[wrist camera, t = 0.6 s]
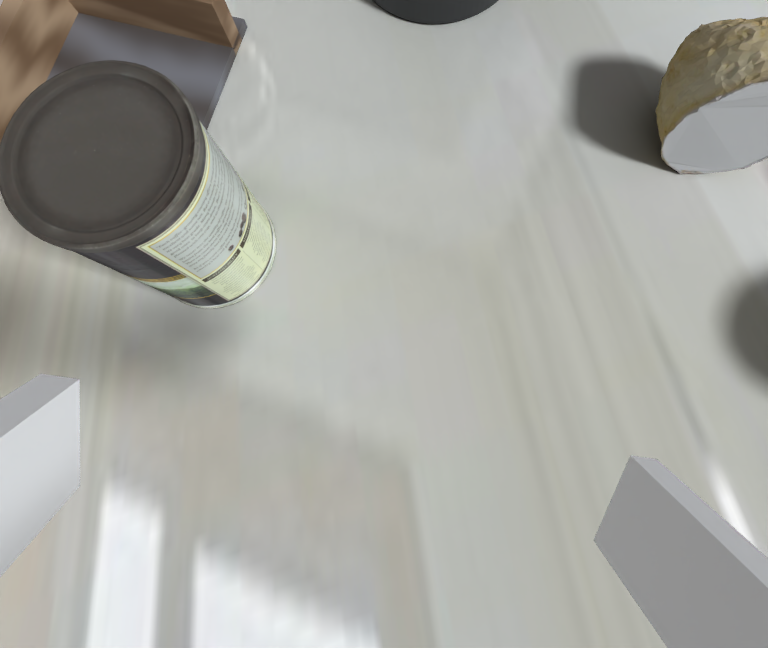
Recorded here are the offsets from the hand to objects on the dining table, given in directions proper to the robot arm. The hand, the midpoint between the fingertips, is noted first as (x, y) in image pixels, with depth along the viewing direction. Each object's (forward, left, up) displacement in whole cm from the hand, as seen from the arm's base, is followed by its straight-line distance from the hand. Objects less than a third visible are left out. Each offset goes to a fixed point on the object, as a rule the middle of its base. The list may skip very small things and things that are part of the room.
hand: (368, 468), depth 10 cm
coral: (-29, +17, -22) cm, 41 cm away
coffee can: (-9, -18, -22) cm, 30 cm away
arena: (-20, -31, -22) cm, 43 cm away
